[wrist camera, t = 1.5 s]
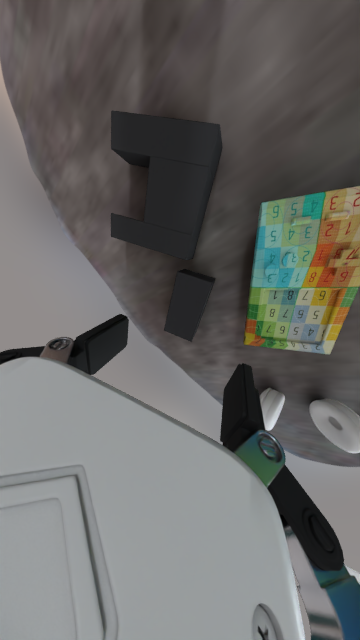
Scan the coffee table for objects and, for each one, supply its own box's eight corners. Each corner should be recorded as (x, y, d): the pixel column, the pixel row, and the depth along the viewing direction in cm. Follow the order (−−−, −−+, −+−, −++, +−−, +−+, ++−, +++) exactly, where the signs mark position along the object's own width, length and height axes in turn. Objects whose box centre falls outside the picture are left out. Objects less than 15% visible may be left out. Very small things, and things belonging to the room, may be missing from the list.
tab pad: (184, 268, 27) (177, 271, 23) (215, 278, 26) (212, 282, 22) (171, 322, 33) (163, 330, 29) (195, 332, 32) (191, 341, 28)
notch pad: (130, 132, 21) (111, 109, 18) (222, 146, 19) (219, 123, 15) (125, 238, 28) (110, 236, 25) (192, 258, 26) (186, 260, 22)
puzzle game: (416, 172, 12) (333, 358, 21) (372, 191, 16) (317, 340, 25) (263, 199, 16) (244, 347, 24) (257, 209, 20) (242, 334, 28)
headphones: (248, 376, 32) (263, 520, 15) (360, 395, 26) (602, 673, 9) (245, 399, 35) (255, 541, 18) (345, 420, 29) (506, 667, 12)
